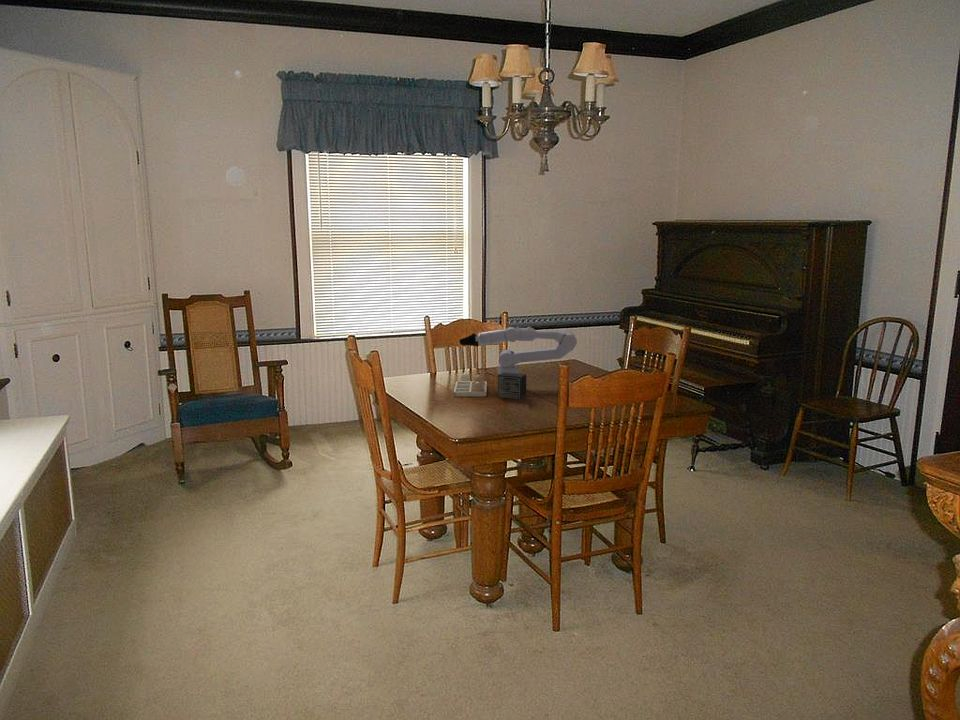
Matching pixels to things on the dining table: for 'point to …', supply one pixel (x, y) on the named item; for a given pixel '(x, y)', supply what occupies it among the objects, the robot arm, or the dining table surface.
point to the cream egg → (465, 377)
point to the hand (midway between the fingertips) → (460, 342)
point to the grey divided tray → (468, 389)
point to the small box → (512, 385)
